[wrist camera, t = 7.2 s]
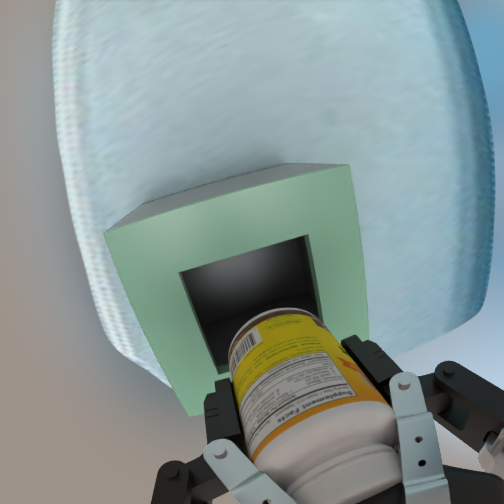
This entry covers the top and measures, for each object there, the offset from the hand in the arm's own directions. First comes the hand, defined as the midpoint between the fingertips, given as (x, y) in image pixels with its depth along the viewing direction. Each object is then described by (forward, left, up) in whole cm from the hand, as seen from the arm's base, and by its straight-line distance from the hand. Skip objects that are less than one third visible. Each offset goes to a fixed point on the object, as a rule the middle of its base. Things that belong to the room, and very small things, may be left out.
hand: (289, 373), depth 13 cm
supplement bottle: (0, 0, -2) cm, 2 cm away
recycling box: (0, 0, -21) cm, 21 cm away
